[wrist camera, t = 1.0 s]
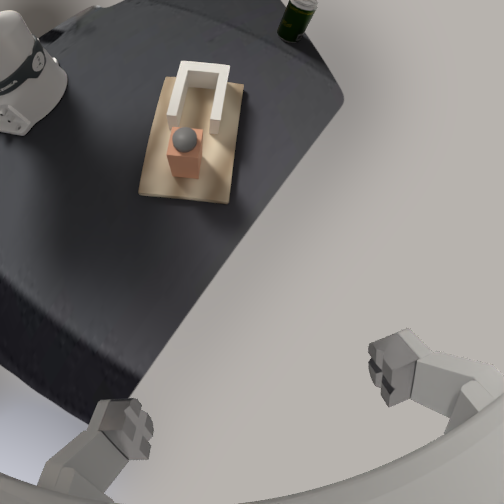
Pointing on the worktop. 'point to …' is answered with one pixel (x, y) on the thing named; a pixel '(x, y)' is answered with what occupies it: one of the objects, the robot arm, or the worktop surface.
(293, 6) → the beer can
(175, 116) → the socket
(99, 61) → the worktop surface
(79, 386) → the worktop surface
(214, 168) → the base board
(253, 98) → the worktop surface
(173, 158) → the plug
